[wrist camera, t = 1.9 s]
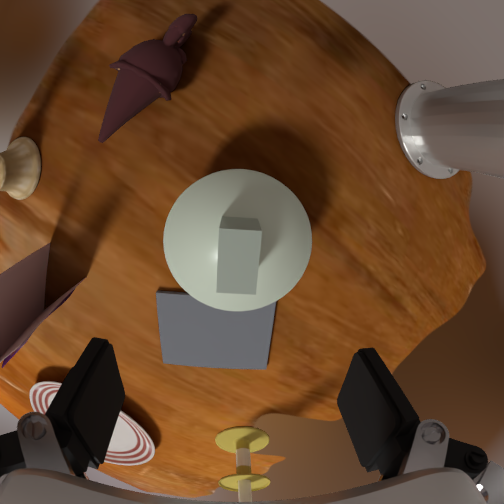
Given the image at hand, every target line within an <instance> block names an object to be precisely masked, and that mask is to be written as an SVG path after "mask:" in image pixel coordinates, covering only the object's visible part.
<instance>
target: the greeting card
mask: <svg viewBox="0 0 504 504" xmlns="http://www.w3.org/2000/svg"><path fill="white" fill-rule="evenodd" d="M49 249H50V243H49V244H47V245H45V246H44V247H42V248H40V249H39V250H37V251H35V252H34V253H32V254H31V255H29V256H27V257H26V258H24V259H23V260H21V261H20V262H18V263H16V264H15V265H13V266H12V267H10V268H9V269H7V270H6V271H4V272H3V273H1V274H0V362H1V361H3V360H4V361H3V365H2V368H3V367H4V365H5V364H6V363H7V362H8V361H9V360H10V359H11V358H12V357H13V356H14V355H15V354H16V353H17V352H18V350H19V349H20V348H21V347H22V346H23V345H24V344H25V343H26V342H27V340H28V339H29V337H30V336H31V334H32V333H33V332H34V330H35V329H36V328H37V327H38V326H39V325H40V324H41V322H42V321H43V320H44V319H46V318H47V317H48V316H49V315H50V314H51V313H52V312H54V311H55V310H56V309H57V308H58V307H59V306H61V305H62V304H63V303H64V302H65V301H66V300H67V299H68V298H69V296H70V295H71V294H72V293H73V291H74V290H75V288H76V287H77V286H78V285H79V284H80V283H81V282H82V281H83V280H84V279H85V278H86V277H85V278H84V279H83V280H82V281H80V282H79V283H78V284H76V285H75V286H74V287H72V288H71V289H70V290H69V291H67V292H66V293H65V294H64V295H62V296H61V297H60V298H59V299H57V300H56V301H55V302H54V303H52V304H51V305H50V306H49V307H47V308H46V309H45V310H44V302H45V286H46V274H47V265H48V257H49Z"/></svg>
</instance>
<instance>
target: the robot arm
mask: <svg viewBox="0 0 504 504" xmlns="http://www.w3.org/2000/svg"><path fill="white" fill-rule="evenodd" d="M395 122H396V131H397V136H398V139H399V142H400V145H401V148H402V150H403V152H404V154H405V156H406V157H407V159H408V160H409V161H410V163H411V164H412V165H413V166H414V167H415V168H416V169H417V170H418V171H419V172H421V173H422V174H424V175H426V176H429V177H432V178H437V179H445V178H449V177H451V176H453V175H454V174H456V173H457V172H458V171H459V170H465V171H471V172H476V173H481V174H486V175H491V176H495V177H500V178H504V79H502V80H493V81H486V82H479V83H473V84H467V85H461V86H455V87H450V88H445V87H444V86H442V85H440V84H439V83H436V82H433V81H419V82H416V83H413V84H411V85H410V86H408V87H407V88H406V89H405V90H404V91H403V92H402V94H401V96H400V98H399V100H398V103H397V107H396V114H395ZM124 399H125V391H124V387H123V384H122V380H121V377H120V373H119V369H118V366H117V362H116V358H115V354H114V350H113V346H112V344H109V342H108V340H106V339H101V338H95V337H94V338H92V339H91V341H90V342H89V344H88V345H87V347H86V348H85V350H84V352H83V353H82V355H81V356H80V358H79V360H78V361H77V363H76V364H75V366H74V367H72V368H71V370H70V371H69V373H68V374H67V376H66V378H65V380H64V381H63V383H62V385H61V386H60V388H59V390H58V392H57V393H56V395H55V397H54V399H53V400H52V402H51V404H50V406H49V408H48V409H47V411H46V413H45V415H44V414H42V413H40V412H29V413H27V414H25V415H23V416H22V417H21V418H20V420H19V421H18V425H17V431H14V432H10V433H7V434H3V435H0V504H504V468H502V467H501V466H499V465H498V464H496V463H494V462H493V461H490V462H489V463H488V459H487V455H486V453H485V452H484V451H483V450H482V449H481V448H479V447H477V446H473V445H470V444H467V443H463V442H460V441H457V440H454V439H451V438H449V432H448V430H447V428H446V426H445V425H444V424H443V423H441V422H440V421H437V420H432V419H428V420H425V421H422V422H420V420H419V417H418V415H417V413H416V412H415V410H414V409H413V407H412V405H411V404H410V402H409V401H408V399H407V397H406V396H405V394H404V393H403V391H402V390H401V388H400V386H399V385H398V383H397V382H396V380H395V379H394V377H393V376H392V374H391V373H390V371H389V370H388V368H387V367H386V365H385V364H384V362H383V361H382V359H381V358H380V356H379V355H378V353H377V352H376V350H375V349H374V348H363V349H359V350H358V352H357V353H355V354H354V356H353V359H352V361H351V364H350V367H349V370H348V372H347V375H346V378H345V380H344V383H343V385H342V388H341V390H340V393H339V395H338V398H337V404H338V407H339V410H340V412H341V415H342V417H343V419H344V422H345V424H346V427H347V430H348V432H349V435H350V438H351V440H352V443H353V445H354V448H355V451H356V453H357V456H358V458H359V461H360V464H361V465H362V466H363V467H365V468H366V470H367V472H371V471H374V470H378V469H379V471H380V473H381V475H380V477H379V479H378V481H377V482H375V483H372V484H368V485H364V486H360V487H356V488H352V489H348V490H343V491H338V492H334V493H328V494H323V495H317V496H311V497H303V498H296V499H287V500H275V501H260V502H213V501H197V500H186V499H177V498H169V497H162V496H156V495H150V494H145V493H139V492H135V491H130V490H125V489H121V488H116V487H113V486H109V485H104V484H101V483H98V482H94V481H91V480H89V479H88V477H87V475H86V473H85V472H86V471H87V467H92V468H95V469H98V467H99V464H103V462H104V460H105V457H106V454H107V450H108V447H109V444H110V441H111V438H112V434H113V431H114V428H115V425H116V422H117V419H118V416H119V413H120V410H121V408H122V405H123V402H124Z"/></svg>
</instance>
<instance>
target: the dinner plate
mask: <svg viewBox="0 0 504 504" xmlns="http://www.w3.org/2000/svg"><path fill="white" fill-rule="evenodd" d="M61 385H62V383H59V382H52V381H43V382H38V383H36V384H35V385H34V386H33V387H32V388H31V390H30V402H31V405H32V407H33V409H34V411H35V412H40V413H42V414H44V415H45V413H46V411H47V409H48V408H49V406H50V404H51V402H52V400H53V399H54V397H55V395H56V393H57V392H58V390H59V388H60V386H61ZM154 453H155V446H154V443H153V441H152V439H151V438H150V436H149V435H148V433H147V432H146V431H145V430H144V429H143V428H142V427H141V426H140V425H139V424H138V423H137V422H136V421H135V420H133V419H132V418H131V417H130V416H128V415H127V414H126V413H124V412H123V411H121V410H120V413H119V416H118V419H117V422H116V425H115V428H114V431H113V434H112V438H111V441H110V444H109V447H108V450H107V454H106V457H105V460H104V462H108V463H113V464H119V465H138V464H142V463H145V462H147V461H149V460H150V459H152V457H153V456H154Z"/></svg>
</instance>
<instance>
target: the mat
mask: <svg viewBox="0 0 504 504" xmlns="http://www.w3.org/2000/svg"><path fill="white" fill-rule="evenodd" d="M156 299H157V311H158V322H159V332H160V341H161V349H162V357H163V363H166V364H176V365H186V366H198V367H212V368H230V369H266V367H267V360H268V354H269V347H270V340H271V334H272V327H273V320H274V313H275V306H276V301H275V302H273V303H271V304H269V305H267V306H264V307H262V308H258V309H254V310H249V311H226V310H221V309H216V308H213V307H211V306H208V305H206V304H204V303H202V302H200V301H198V300H196V299H195V298H193V297H192V296H191V295H190V294H188V293H184V292H171V291H159V290H157V292H156Z"/></svg>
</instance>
